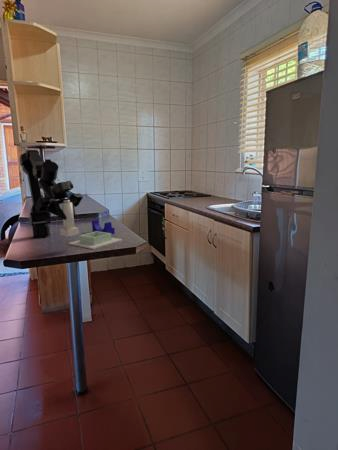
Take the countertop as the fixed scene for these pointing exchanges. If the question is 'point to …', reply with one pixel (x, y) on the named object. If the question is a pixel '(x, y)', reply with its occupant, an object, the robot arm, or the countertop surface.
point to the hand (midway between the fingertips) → (70, 218)
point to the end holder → (95, 240)
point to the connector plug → (68, 220)
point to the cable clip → (106, 229)
